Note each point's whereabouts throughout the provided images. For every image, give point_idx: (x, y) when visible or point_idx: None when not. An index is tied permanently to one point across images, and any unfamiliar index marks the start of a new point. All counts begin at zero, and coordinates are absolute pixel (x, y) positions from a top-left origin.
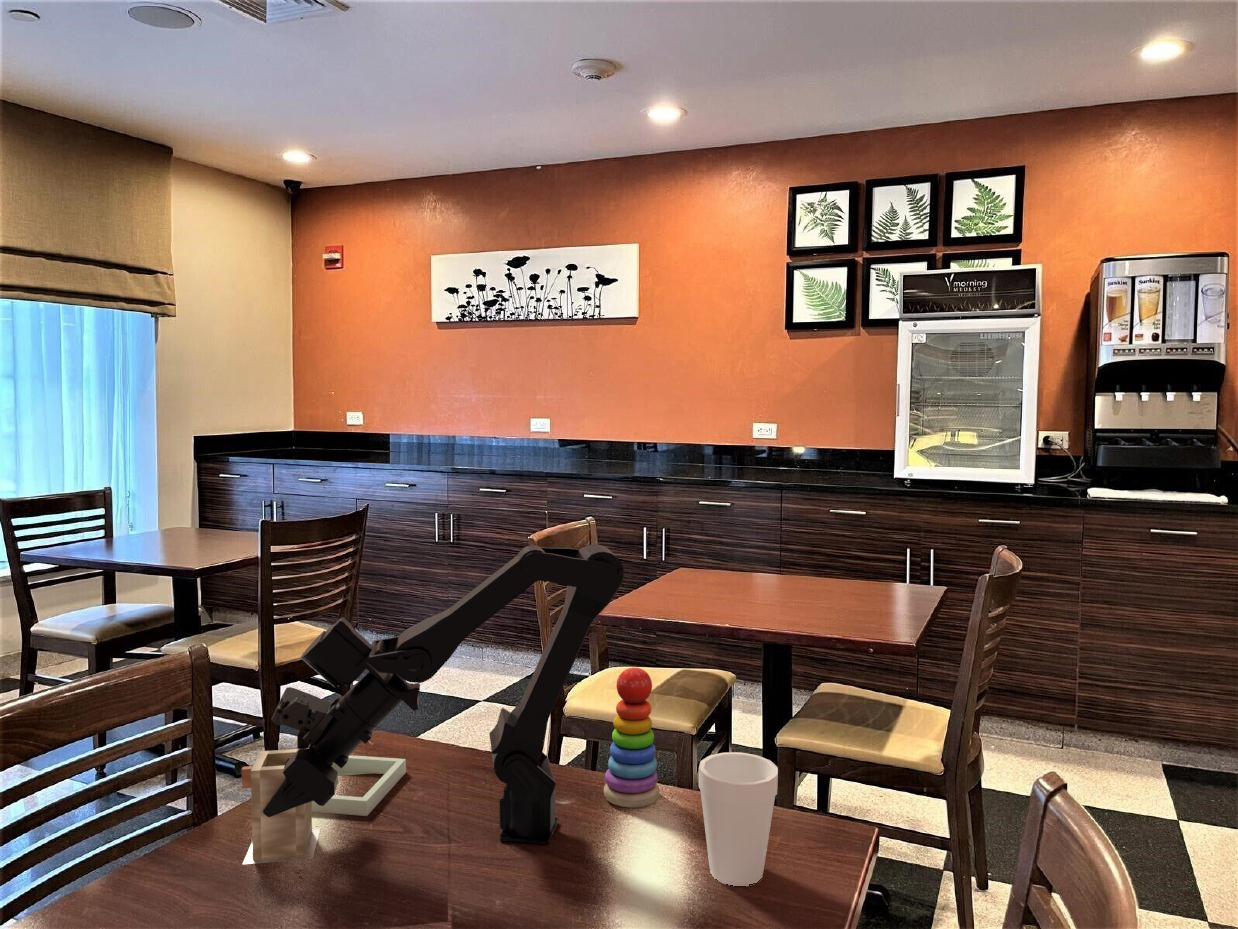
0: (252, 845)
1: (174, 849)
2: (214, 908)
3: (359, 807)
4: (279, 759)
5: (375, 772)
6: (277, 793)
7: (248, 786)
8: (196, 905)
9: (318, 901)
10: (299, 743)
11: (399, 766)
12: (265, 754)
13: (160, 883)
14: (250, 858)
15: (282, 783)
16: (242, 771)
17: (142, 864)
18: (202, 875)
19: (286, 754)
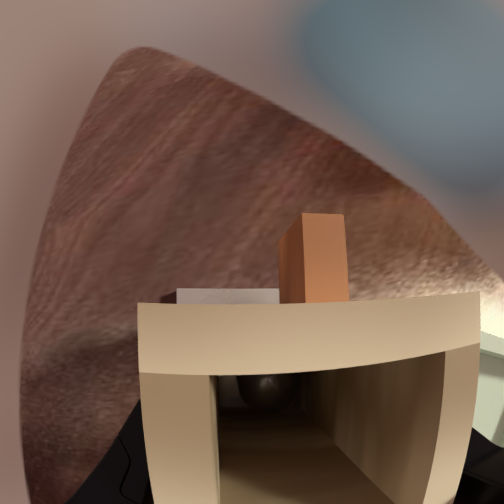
0: (269, 293)
1: (306, 135)
2: (61, 261)
3: None
4: (415, 414)
5: (502, 441)
6: (120, 436)
7: (279, 271)
8: (78, 225)
9: (62, 440)
10: (488, 488)
11: None
12: (440, 339)
13: (175, 140)
14: (202, 302)
15: (123, 476)
16: (300, 222)
17: (255, 98)
18: (187, 207)
19: (428, 456)
